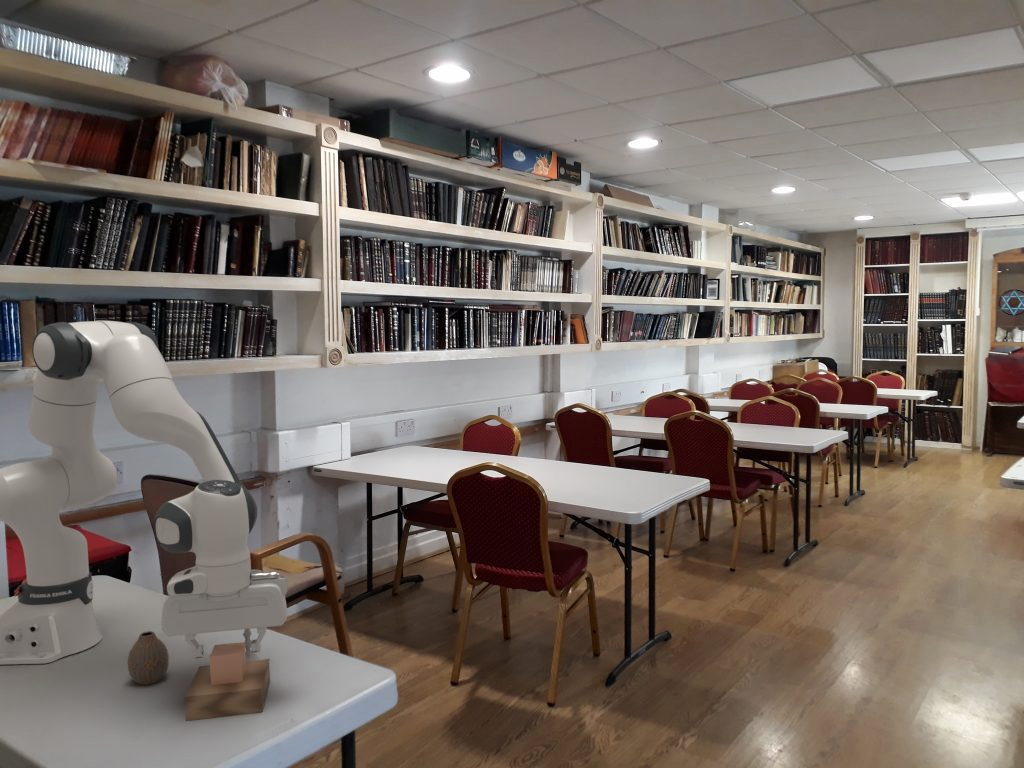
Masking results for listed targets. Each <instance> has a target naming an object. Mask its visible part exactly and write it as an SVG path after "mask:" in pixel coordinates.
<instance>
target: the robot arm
mask: <svg viewBox="0 0 1024 768" xmlns="http://www.w3.org/2000/svg"><path fill="white" fill-rule="evenodd" d="M158 343H159V342H158V339H157V337H156V335H155V332H154V331H153V330H152V329H151V328H150V327H148V326H147V325H144V324H142V323H138V322H135V321H126V322H123V321H117V320H116V321H115V320H114V321H113V320H94V321H92V320H91V321H90V320H89V321H87V320H86V321H76V322H66V321H61V322H54V323H50V324H49V323H48V324H46V325H44V326H42V327H40V328H39V330H38V331H37V333H36V335H35V336H34V338H33V340H32V346H31V347H32V348H31V349H32V352H31V353H32V358H33V362H34V365H35V366H36V368H37V372H36V375H35V379H34V384H33V391H32V399H31V407H30V414H29V420H28V421H29V422H28V428H29V429H28V430H29V431H30V433H31V435H32V436H33V438H34V439H35V440H37V441H38V442H39V443H42V444H44V445H46V446H49V447H51V455H50V456H49V457H48V458H44V459H37V460H30V461H25V462H18V463H13V464H11V465H10V464H9V465H8V466H4V467H2V468H0V522H2V523H4V524H5V525H7V526H9V528H10V529H11V530H12V531H13V532H14V533H15V534H16V536H17V537H18V539H19V541H20V544H21V547H22V549H23V550H22V551H23V555H24V556H23V557H24V563H25V564H24V565H25V571H26V572H25V573H26V578H25V579H24V580H22V582H21V584H20V585H18V586H17V588H16V589H15V590H14V591H13V593H14V595H13V596H14V597H17V599H18V601H16V602H15V603H14V604H12V606H11V607H9V608H8V609H7V610H6V611H4V612H3V613H2V614H1V615H0V665H1V666H2V665H29V664H30V665H33V664H35V665H36V664H37V665H38V664H49V663H52V662H55V661H56V660H57V661H58V660H60V659H62V658H64V657H67V656H70V655H73V654H77V653H81V652H83V651H85V650H87V649H90V648H92V647H93V646H95V645H96V644H99V642H100V641H101V640H102V639H103V635H102V633H101V631H100V627H99V626H98V623H97V618H96V616H95V615H96V614H95V610H94V605H93V600H94V599H93V598H94V583H93V577H92V572H90V566H89V553H88V552H89V550H88V549H89V547H88V540H87V538H86V536H85V535H84V534H83V533H82V532H81V531H79V530H78V529H74V528H72V527H68V526H65V525H63V523H62V521H61V518H60V512H61V511H66V510H69V509H73V508H80V507H83V506H88V505H91V504H94V503H96V502H98V501H101V500H103V499H105V498H107V497H109V496H110V495H112V493H114V490H115V488H116V486H117V484H118V483H117V482H118V473H117V469H116V467H115V464H114V463H113V462H112V460H111V459H110V458H109V457H108V456H106V455H105V454H103V453H102V452H101V451H100V450H99V448H98V446H97V444H96V441H95V439H94V422H95V412H96V405H97V398H98V390H99V389H98V388H99V381H100V380H102V379H103V382H104V384H105V388H106V392H107V395H108V398H109V402H110V404H111V407H112V410H113V413H114V416H115V417H116V419H117V421H118V423H119V424H120V425H121V427H122V428H123V429H124V430H125V431H126V432H127V433H130V434H131V435H133V436H135V437H138V438H141V439H143V440H147V441H153V442H157V443H158V442H159V443H162V444H167V445H170V446H173V447H175V448H178V449H180V450H182V451H183V452H185V453H186V454H187V455H188V456H189V457H190V458H191V460H192V462H193V463H194V466H195V467H196V468H197V471H198V472H199V475H200V476H201V478H202V479H203V482H200V483H198V485H197V486H195V488H194V490H192V491H190V492H189V493H188V494H185V495H182V496H180V497H176V498H172V500H169V501H166V502H164V503H162V505H160V507H158V510H157V511H156V514H155V516H154V521H153V533H154V538H155V539H156V542H157V543H158V545H159V546H160V547H161V548H162V549H164V550H165V551H166V552H169V553H171V554H185V553H189V552H191V553H194V555H195V565H194V566H191V567H189V568H186V569H184V570H181V571H177V572H176V573H175V574H174V575H173V576H171V578H170V579H169V581H168V582H167V585H166V591H167V596H166V599H165V600H164V602H163V605H162V612H161V631H162V633H163V634H164V635H165V636H166V637H174V636H184V639H185V642H186V643H187V645H188V646H189V648H190V649H191V650H192V658H193V659H202V658H204V655H205V650H204V649H205V645H204V644H199V643H198V641H197V640H196V638H195V637H196V636H197V634H205V633H206V634H207V633H216V632H217V633H218V632H227V631H239V630H245V629H250V630H251V629H256V634H259V635H258V636H257V638H256V639H251V641H252V642H251V653H253V654H256V653H261V650H262V641H263V638H264V636H265V634H266V632H267V629H268V628H271V627H273V628H275V627H281V626H282V625H283V624H284V623H285V622H286V621H287V619H288V608H287V601H286V594H288V580H287V579H288V578H287V577H286V576H285V575H284V574H282V573H279V572H277V571H270V572H264V573H251V570H252V566H251V565H252V564H251V563H252V561H251V551H250V549H249V546H248V538H249V535H250V533H251V532H252V530H253V529H254V527H255V525H256V522H257V518H258V506H257V503H256V500H255V499H254V497H253V495H252V494H251V493H250V491H249V490H248V489H247V487H245V485H244V484H243V482H242V481H241V479H240V478H239V477H238V474H237V473H236V471H235V469H234V467H233V466H232V464H231V461H230V460H229V458H228V456H227V454H226V453H225V450H224V449H223V447H222V445H221V444H220V442H219V440H218V438H217V436H216V435H215V433H214V431H213V429H212V427H211V425H210V424H209V423H208V421H207V419H206V418H205V417H204V416H203V415H202V414H201V413H200V412H198V411H196V410H195V409H193V408H192V407H191V406H190V404H188V403H187V402H186V400H185V399H184V397H183V396H182V395H181V393H180V392H179V391H178V388H177V386H176V384H175V381H174V379H173V375H172V374H171V372H170V369H169V367H168V365H167V363H166V361H165V358H164V356H163V355H162V353H161V352H160V350H159V344H158ZM251 579H252V581H251Z"/></svg>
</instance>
